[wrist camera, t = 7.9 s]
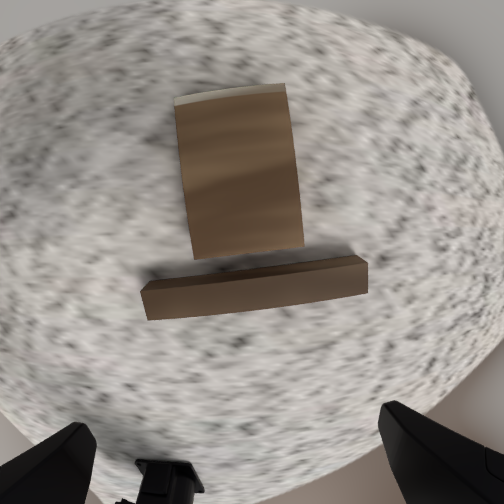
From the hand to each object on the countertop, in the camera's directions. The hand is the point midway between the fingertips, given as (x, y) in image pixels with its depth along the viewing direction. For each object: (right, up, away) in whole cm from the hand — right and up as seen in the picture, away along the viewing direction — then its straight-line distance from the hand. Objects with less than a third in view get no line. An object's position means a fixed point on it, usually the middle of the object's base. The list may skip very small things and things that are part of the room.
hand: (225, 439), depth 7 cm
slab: (+1, +5, +10) cm, 12 cm away
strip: (+1, +3, +12) cm, 13 cm away
